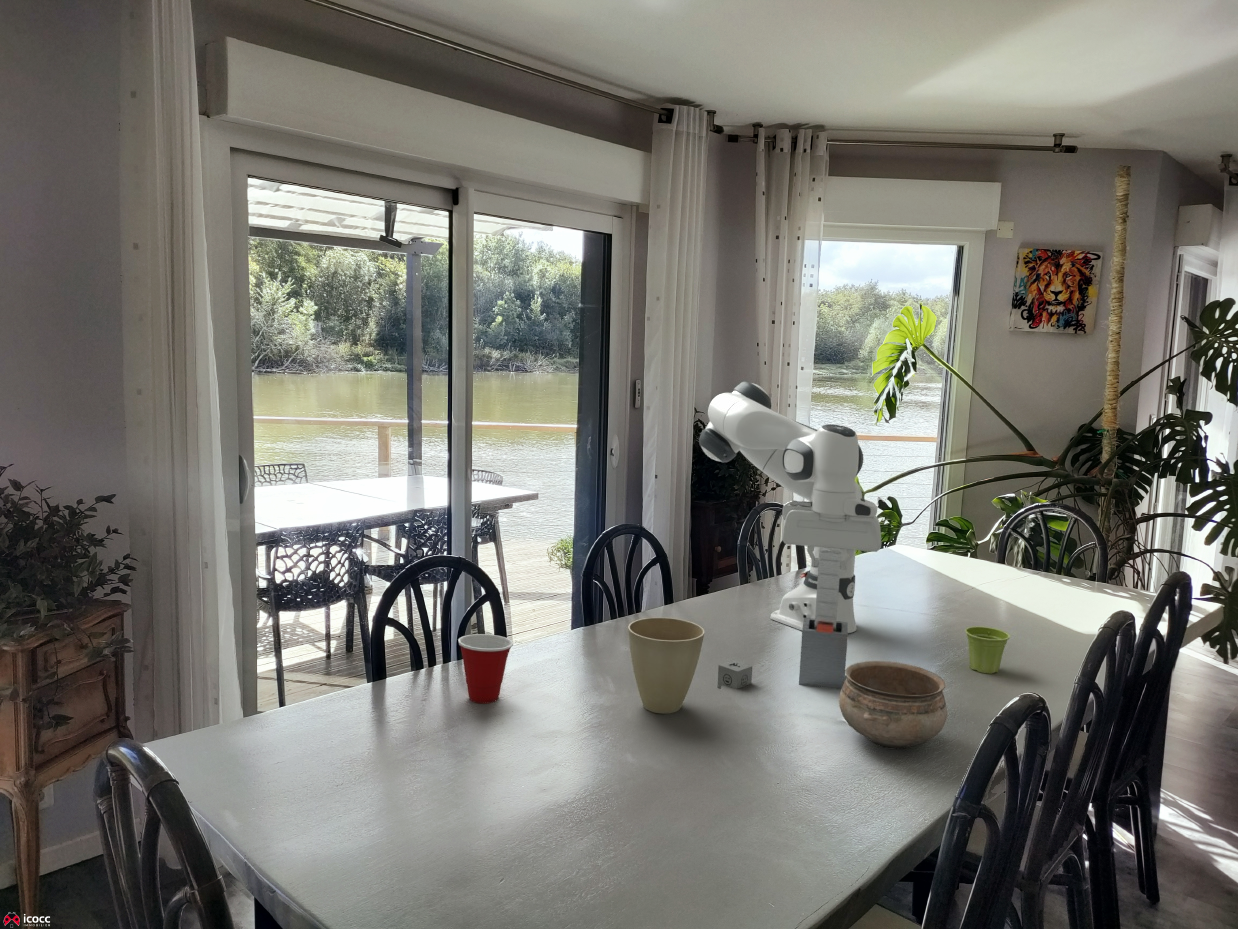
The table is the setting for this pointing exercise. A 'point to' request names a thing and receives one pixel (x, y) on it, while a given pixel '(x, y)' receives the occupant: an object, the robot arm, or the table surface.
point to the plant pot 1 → (664, 660)
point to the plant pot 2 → (986, 648)
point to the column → (827, 587)
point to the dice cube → (734, 674)
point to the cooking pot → (893, 703)
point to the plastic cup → (484, 665)
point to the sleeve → (823, 654)
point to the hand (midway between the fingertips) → (829, 568)
